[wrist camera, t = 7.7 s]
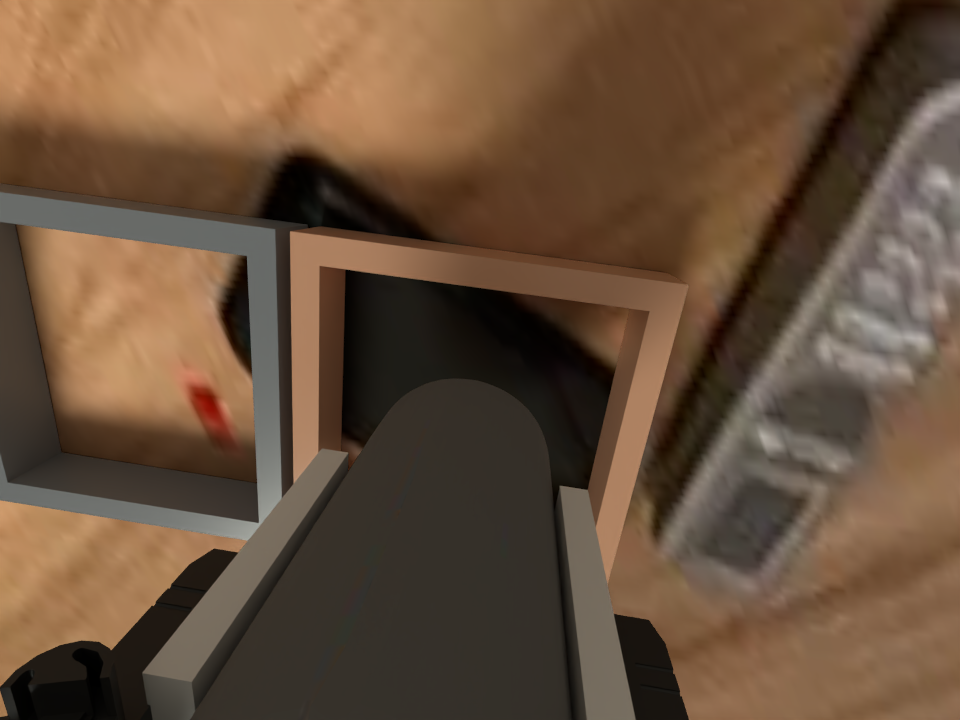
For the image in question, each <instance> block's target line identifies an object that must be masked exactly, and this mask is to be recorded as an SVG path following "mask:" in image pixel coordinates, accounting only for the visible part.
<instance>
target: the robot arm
mask: <svg viewBox="0 0 960 720" xmlns="http://www.w3.org/2000/svg"><path fill="white" fill-rule="evenodd" d="M347 473H348V452H341V451H335V450H328V449H321V450H320V451H319V453H318V454H317V455H316V456H315V458H314V459H313V460H312V461H311V463H310V464H309V465H308V466H307V468H306V469H305V470H304V471H303V473H302V474H301V475H300V476H299V478H298V479H297V480H296V481H295V483H294V484H293V485H292V486H291V488H290V489H289V490H288V491H287V493H286V494H285V495H284V496H283V498H282V499H281V500H280V501H279V503H278V504H277V505H276V506H275V508H274V509H273V510H272V511H271V513H270V514H269V515H268V516H267V518H266V519H265V520H264V521H263V523H262V524H261V525H260V526H259V528H258V529H257V530H256V531H255V533H254V534H253V535H252V536H251V538H250V539H249V540H248V541H247V543H246V544H245V545H244V546H243V548H242V549H241V550H240V551H239V553H237V552H231V551H225V550H219V549H213V550H211V551H210V552H208V553H207V554H205V555H203V556H202V557H200V558H199V559H197V560H196V561H194V562H192V563H191V564H189V566H188V567H187V568H186V569H185V570H184V571H183V572H182V573H181V574H180V575H179V577H178V578H177V579H176V580H175V581H174V582H173V583H172V584H171V587H170V589H167V590H166V591H165V592H164V593H163V594H162V595H161V596H160V598H159V599H158V600H157V601H156V604H155V605H154V606H151V607H150V609H149V610H148V611H147V612H146V613H145V614H144V615H143V616H142V617H141V618H140V620H139V621H138V622H137V623H136V624H135V625H134V626H133V627H132V628H131V630H130V631H129V632H128V633H127V634H126V635H125V636H124V637H123V638H122V639H121V641H120V642H119V643H118V644H117V645H116V646H115V647H114V648H113V649H112V650H110V649H109V648H108V647H106V646H105V645H103V644H101V643H100V642H93V641H78V642H73V643H68V644H64V645H60V646H58V647H55V648H53V649H51V650H49V651H46V652H44V653H42V654H40V655H37V656H36V657H35V658H33V659H32V660H30V661H29V662H27V663H26V664H24V665H23V666H22V667H20V668H19V669H17V670H16V671H15V672H14V673H13V674H12V675H11V676H10V677H9V678H8V679H7V680H6V681H5V683H4V684H3V685H2V686H1V687H0V691H1V695H2V698H3V701H4V704H5V707H6V710H7V714H8V716H4V717H0V720H190V719H191V717H192V716H193V714H194V712H195V711H196V709H197V708H198V706H199V705H200V703H201V702H202V700H203V698H204V697H205V695H206V694H207V692H208V691H209V689H210V687H211V686H212V684H213V683H214V681H215V680H216V678H217V676H218V675H219V673H220V672H221V670H222V669H223V667H224V666H225V664H226V662H227V661H228V659H229V658H230V656H231V655H232V653H233V651H234V650H235V648H236V647H237V645H238V644H239V642H240V640H241V639H242V637H243V636H244V634H245V633H246V631H247V629H248V628H249V626H250V625H251V623H252V622H253V620H254V619H255V617H256V615H257V614H258V612H259V611H260V609H261V608H262V606H263V604H264V603H265V601H266V600H267V598H268V597H269V595H270V593H271V592H272V590H273V589H274V587H275V586H276V584H277V583H278V581H279V579H280V578H281V576H282V575H283V573H284V572H285V570H286V568H287V567H288V565H289V564H290V562H291V561H292V559H293V557H294V556H295V554H296V553H297V551H298V550H299V548H300V546H301V545H302V543H303V542H304V540H305V539H306V537H307V536H308V534H309V532H310V531H311V529H312V528H313V526H314V525H315V523H316V521H317V520H318V518H319V517H320V515H321V514H322V512H323V510H324V509H325V507H326V506H327V504H328V503H329V501H330V500H331V498H332V496H333V495H334V493H335V492H336V490H337V489H338V487H339V485H340V484H341V482H342V481H343V479H344V478H345V476H346V475H347ZM554 514H555V526H556V537H557V548H558V560H559V571H560V583H561V594H562V606H563V617H564V629H565V641H566V653H567V664H568V676H569V688H570V700H571V711H572V720H689V719H688V715H687V712H686V709H685V706H684V702H683V699H682V697H681V696H680V690H679V686H678V683H677V680H676V677H675V674H673V667H672V664H671V660H670V657H669V654H668V651H667V648H666V644H665V642H664V641H663V640H662V638H661V637H660V635H659V634H658V633H657V631H656V630H655V628H654V627H653V625H652V624H651V623H650V621H649V620H646V619H640V618H634V617H628V616H622V615H616V614H614V613H613V608H612V604H611V599H610V594H609V589H608V584H607V580H606V575H605V570H604V565H603V560H602V556H601V551H600V546H599V541H598V536H597V532H596V527H595V522H594V517H593V512H592V508H591V503H590V498H589V493H588V490H584V489H578V488H572V487H565V486H560V488H559V492H558V497H557V502H556V507H555V511H554Z"/></svg>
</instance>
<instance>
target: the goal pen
mask: <svg viewBox="0 0 960 720" xmlns="http://www.w3.org/2000/svg"><path fill="white" fill-rule="evenodd" d="M290 269H291V339H292V409H293V479H294V483H295V481H296V480H297V479H298V478H299V476H300V475H301V474H302V473H303V471H304V470H305V469H306V468H307V466H308V465H309V464H310V463H311V461H312V460H313V459H314V458H315V456H316V455H317V454H318V453H319V451H320V450H321V449H328V450H335V451H341V431H342V390H343V350H344V310H345V270H354V271H361V272H368V273H375V274H383V275H390V276H397V277H404V278H412V279H419V280H426V281H433V282H441V283H448V284H455V285H463V286H470V287H477V288H484V289H492V290H499V291H506V292H513V293H521V294H528V295H535V296H542V297H550V298H557V299H564V300H572V301H579V302H586V303H593V304H601V305H608V306H615V307H622V308H630V311H629V315H628V319H627V324H626V328H625V332H624V337H623V341H622V345H621V349H620V354H619V358H618V362H617V366H616V371H615V375H614V379H613V384H612V388H611V392H610V396H609V401H608V405H607V409H606V414H605V418H604V422H603V426H602V431H601V435H600V439H599V443H598V448H597V452H596V456H595V461H594V465H593V469H592V473H591V478H590V482H589V486H588V493H589V498H590V503H591V508H592V512H593V517H594V522H595V527H596V532H597V536H598V541H599V546H600V551H601V556H602V560H603V565H604V570H605V575H606V580H607V584H608V581H609V577H610V573H611V570H612V566H613V562H614V559H615V555H616V551H617V548H618V544H619V540H620V537H621V533H622V529H623V526H624V522H625V518H626V515H627V511H628V507H629V504H630V500H631V496H632V492H633V489H634V485H635V481H636V478H637V474H638V470H639V467H640V463H641V459H642V456H643V452H644V448H645V445H646V441H647V437H648V434H649V430H650V426H651V423H652V419H653V415H654V412H655V408H656V404H657V401H658V397H659V393H660V390H661V386H662V382H663V379H664V375H665V371H666V368H667V364H668V360H669V357H670V353H671V349H672V346H673V342H674V338H675V335H676V331H677V327H678V324H679V320H680V316H681V313H682V309H683V305H684V302H685V298H686V294H687V290H688V287H689V285H688V284H686V283H684V282H683V281H681V280H679V279H677V278H675V277H673V276H672V275H670V274H668V273H665V272H657V271H650V270H642V269H635V268H627V267H620V266H612V265H605V264H598V263H590V262H583V261H575V260H568V259H560V258H553V257H545V256H538V255H530V254H523V253H516V252H508V251H501V250H493V249H486V248H478V247H471V246H463V245H456V244H448V243H441V242H433V241H426V240H419V239H411V238H404V237H396V236H389V235H381V234H374V233H366V232H359V231H351V230H344V229H337V228H329V227H322V226H320V227H313V228H307V229H301V230H295V231H290Z"/></svg>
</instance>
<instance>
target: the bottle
mask: <svg viewBox="0 0 960 720" xmlns="http://www.w3.org/2000/svg"><path fill="white" fill-rule="evenodd" d="M190 720H572V711H571V700H570V688H569V676H568V664H567V653H566V641H565V629H564V617H563V606H562V594H561V583H560V571H559V560H558V548H557V537H556V526H555V514H554V503H553V492H552V483H551V473H550V464H549V456H548V449H547V445H546V442H545V439H544V436H543V433H542V430H541V428H540V426H539V424H538V423H537V421H536V420H535V418H534V417H533V415H532V414H531V413H530V411H529V410H528V409H527V408H526V407H525V406H524V405H523V404H522V403H521V402H520V401H518V400H517V399H516V398H514V397H513V396H511V395H510V394H508V393H507V392H506V391H503V390H501V389H499V388H497V387H495V386H492V385H490V384H487V383H484V382H481V381H477V380H469V379H442V380H438V381H434V382H430V383H427V384H424V385H422V386H420V387H418V388H416V389H414V390H412V391H410V392H408V393H407V394H406V395H404V396H403V397H402V398H401V399H400V400H399V401H397V402H396V403H395V404H394V406H393V407H392V408H391V409H390V410H389V411H388V413H387V414H386V416H385V417H384V418H383V420H382V421H381V423H380V424H379V425H378V427H377V428H376V430H375V431H374V433H373V434H372V436H371V437H370V439H369V440H368V442H367V443H366V445H365V446H364V448H363V450H362V451H361V453H360V454H359V456H358V457H357V459H356V461H355V462H354V464H353V465H352V467H351V468H350V470H349V471H348V473H347V475H346V476H345V478H344V479H343V481H342V482H341V484H340V485H339V487H338V489H337V490H336V492H335V493H334V495H333V496H332V498H331V500H330V501H329V503H328V504H327V506H326V507H325V509H324V510H323V512H322V514H321V515H320V517H319V518H318V520H317V521H316V523H315V525H314V526H313V528H312V529H311V531H310V532H309V534H308V536H307V537H306V539H305V540H304V542H303V543H302V545H301V546H300V548H299V550H298V551H297V553H296V554H295V556H294V557H293V559H292V561H291V562H290V564H289V565H288V567H287V568H286V570H285V572H284V573H283V575H282V576H281V578H280V579H279V581H278V583H277V584H276V586H275V587H274V589H273V590H272V592H271V593H270V595H269V597H268V598H267V600H266V601H265V603H264V604H263V606H262V608H261V609H260V611H259V612H258V614H257V615H256V617H255V619H254V620H253V622H252V623H251V625H250V626H249V628H248V629H247V631H246V633H245V634H244V636H243V637H242V639H241V640H240V642H239V644H238V645H237V647H236V648H235V650H234V651H233V653H232V655H231V656H230V658H229V659H228V661H227V662H226V664H225V666H224V667H223V669H222V670H221V672H220V673H219V675H218V676H217V678H216V680H215V681H214V683H213V684H212V686H211V687H210V689H209V691H208V692H207V694H206V695H205V697H204V698H203V700H202V702H201V703H200V705H199V706H198V708H197V709H196V711H195V712H194V714H193V716H192V717H191V719H190Z"/></svg>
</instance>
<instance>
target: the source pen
mask: <svg viewBox="0 0 960 720" xmlns="http://www.w3.org/2000/svg"><path fill="white" fill-rule="evenodd" d="M15 224H19V225H27V226H34V227H41V228H48V229H56V230H63V231H70V232H77V233H85V234H92V235H99V236H106V237H114V238H121V239H128V240H136V241H143V242H150V243H157V244H165V245H172V246H179V247H186V248H194V249H201V250H208V251H215V252H223V253H230V254H237V255H245V256H247V266H248V288H249V311H250V333H251V355H252V378H253V400H254V422H255V445H256V467H257V483H252V482H246V481H239V480H233V479H227V478H220V477H214V476H208V475H201V474H195V473H189V472H182V471H176V470H170V469H163V468H157V467H151V466H144V465H138V464H132V463H125V462H119V461H113V460H106V459H100V458H94V457H87V456H81V455H75V454H68V453H62V452H61V447H60V442H59V438H58V433H57V428H56V423H55V418H54V413H53V408H52V403H51V398H50V393H49V388H48V384H47V379H46V374H45V369H44V364H43V359H42V354H41V349H40V344H39V339H38V334H37V330H36V325H35V320H34V315H33V310H32V305H31V300H30V295H29V290H28V285H27V280H26V276H25V271H24V266H23V261H22V256H21V251H20V246H19V241H18V236H17V231H16V226H15ZM307 228H308V225H307V224H299V223H292V222H284V221H277V220H269V219H262V218H254V217H247V216H240V215H232V214H225V213H217V212H210V211H202V210H195V209H187V208H180V207H172V206H165V205H158V204H150V203H143V202H135V201H128V200H120V199H113V198H105V197H98V196H90V195H83V194H75V193H68V192H61V191H53V190H46V189H38V188H31V187H23V186H16V185H8V184H1V183H0V500H2V501H8V502H14V503H21V504H27V505H33V506H39V507H45V508H51V509H57V510H63V511H70V512H76V513H82V514H88V515H94V516H100V517H106V518H112V519H119V520H125V521H131V522H137V523H143V524H149V525H155V526H161V527H168V528H174V529H180V530H186V531H192V532H198V533H204V534H211V535H217V536H223V537H229V538H235V539H241V540H247V541H248V540H249V539H250V538H251V536H252V535H253V534H254V533H255V531H256V530H257V529H258V528H259V526H260V525H261V524H262V523H263V521H264V520H265V519H266V518H267V516H268V515H269V514H270V513H271V511H272V510H273V509H274V508H275V506H276V505H277V504H278V503H279V501H280V500H281V499H282V498H283V496H284V495H285V494H286V493H287V491H288V490H289V489H290V488H291V486H292V485H293V484H294V479H293V409H292V339H291V269H290V231H295V230H301V229H307Z"/></svg>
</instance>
